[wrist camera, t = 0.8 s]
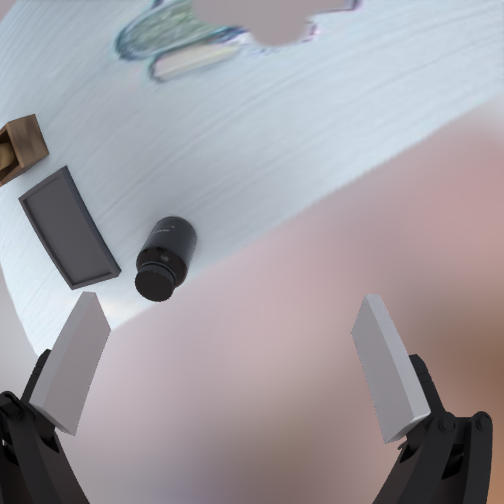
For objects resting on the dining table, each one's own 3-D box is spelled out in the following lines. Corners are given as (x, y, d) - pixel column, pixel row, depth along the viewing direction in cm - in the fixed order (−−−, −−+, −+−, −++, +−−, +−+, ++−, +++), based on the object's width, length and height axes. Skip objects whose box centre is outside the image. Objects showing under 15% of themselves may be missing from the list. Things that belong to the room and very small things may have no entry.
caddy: (9, 136, 30) (-16, 147, 25) (34, 113, 29) (8, 122, 24) (23, 172, 34) (0, 187, 28) (49, 153, 33) (24, 166, 27)
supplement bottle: (168, 206, 39) (142, 251, 29) (206, 233, 41) (194, 284, 31) (145, 239, 42) (118, 288, 31) (181, 262, 44) (165, 316, 34)
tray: (24, 194, 36) (18, 198, 34) (66, 165, 34) (60, 169, 33) (75, 284, 46) (71, 290, 45) (121, 270, 45) (117, 276, 43)
